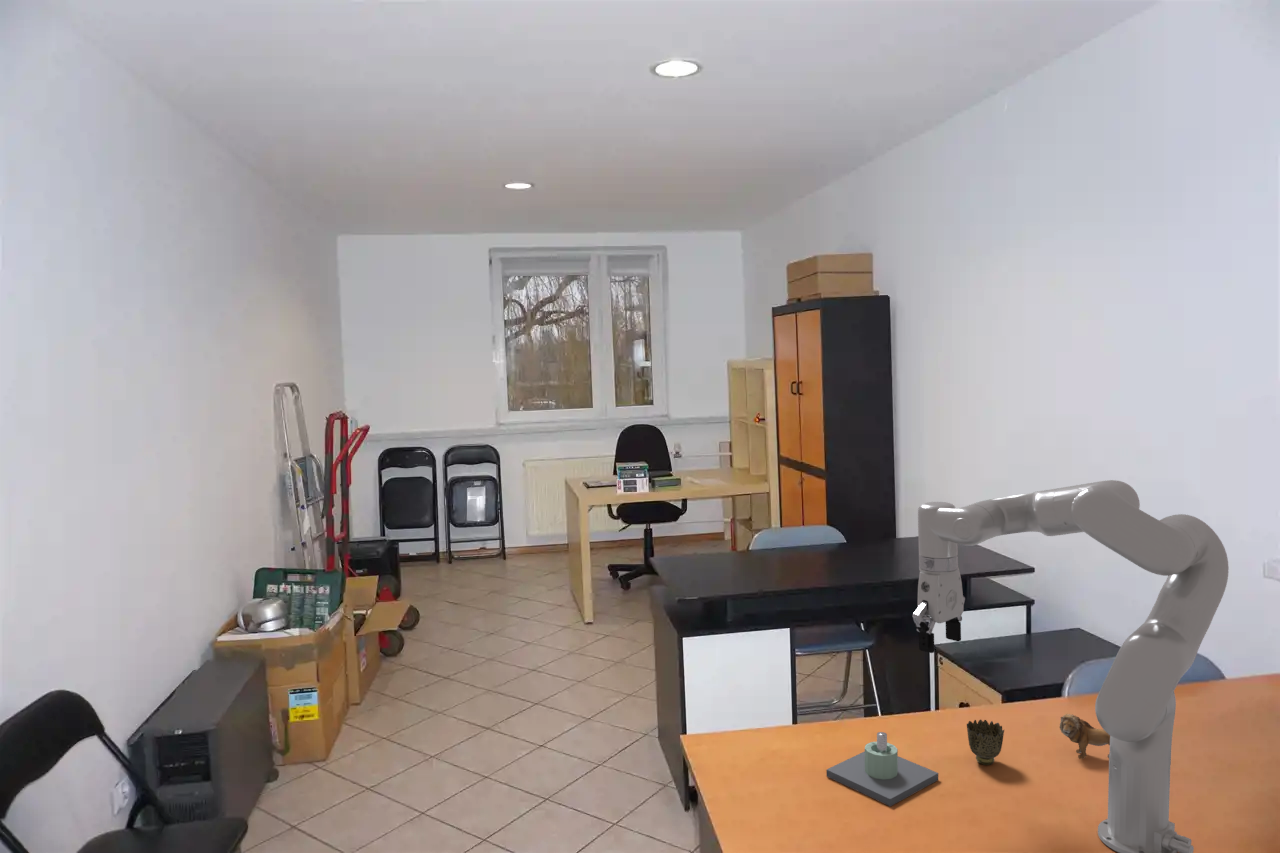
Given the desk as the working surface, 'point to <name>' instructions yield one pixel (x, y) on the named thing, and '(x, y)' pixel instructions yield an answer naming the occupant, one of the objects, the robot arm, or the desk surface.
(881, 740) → the rod
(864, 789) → the board
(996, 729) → the cup
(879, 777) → the bead
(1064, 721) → the lion figurine
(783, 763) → the desk surface
